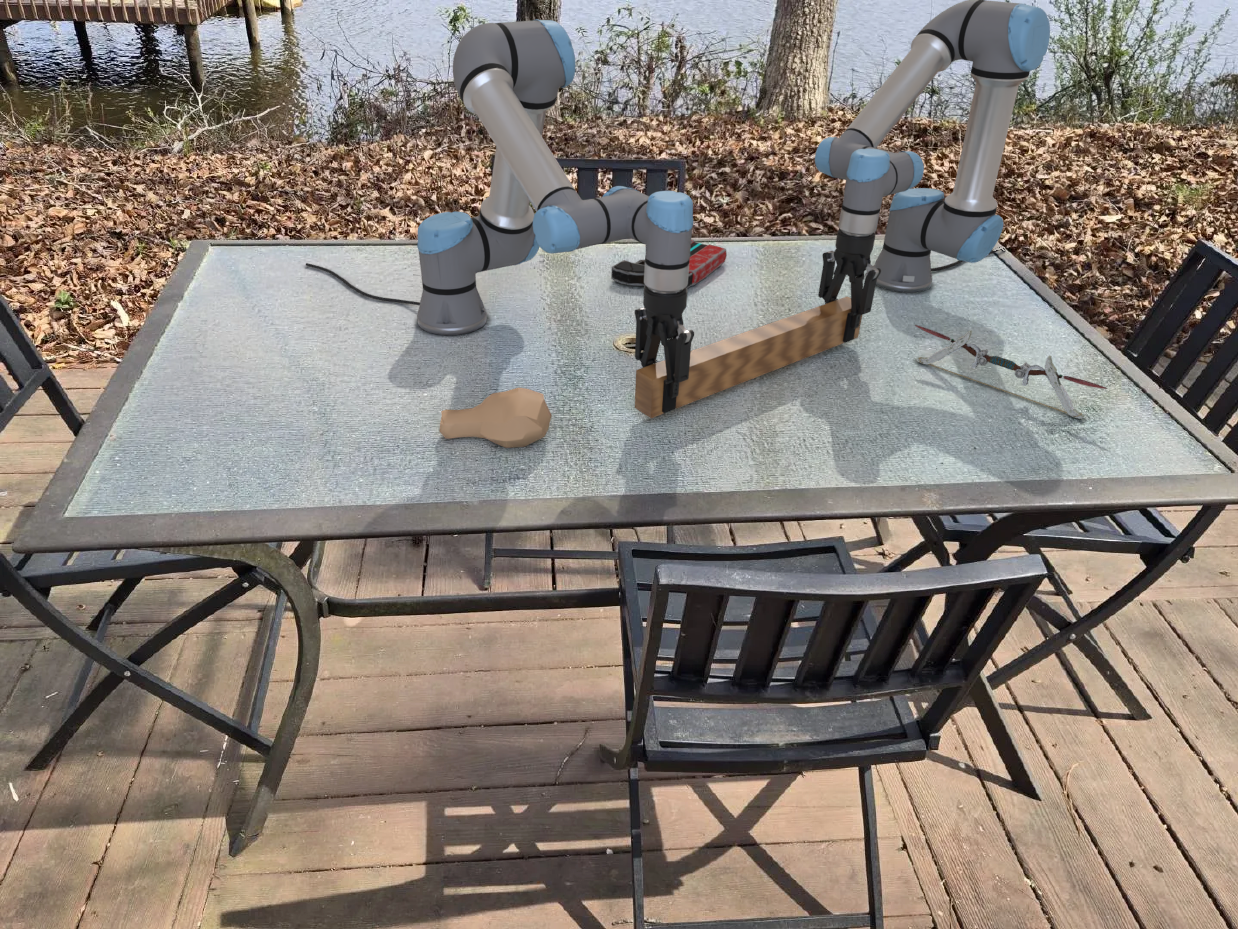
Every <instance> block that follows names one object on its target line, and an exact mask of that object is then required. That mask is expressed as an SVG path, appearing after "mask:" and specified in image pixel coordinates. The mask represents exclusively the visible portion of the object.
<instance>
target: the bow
mask: <svg viewBox="0 0 1238 929" xmlns="http://www.w3.org/2000/svg"><path fill="white" fill-rule="evenodd" d="M914 326H915V327H916V328H918V329H920V330H921V331H924V333H925V332H926V333H928V334H930V335H932V336H935V337H937V338H940V339H943V340H946V341H949V342H950V343H951V345H949V346H945V347H943V348H941V349H939V350H937V351H935V352H934V353H933V354H931V355H930V356H927V357H923V356H918V357H917V358H916V361H917V362H918V363H920V364H922V365H929V366H931V367H934V368H937V369H940V370H943V371H946V372H949V373H952V374H954V375H957V376H960V377H963V378H966V379H969V380H971V381H973V382H976V383H979V384H983V385H985V386H988V387H991V388H993V389H997V390H999V391H1003V392H1005V393H1009V394H1010V395H1014V396H1016V397H1019V398H1022V399H1025V400H1027V401H1030V402H1033V403H1037V404H1040V405H1042V406H1045V407H1048V408H1050V409H1054V410H1056V411H1059V412H1062V413H1063V414H1064V413H1065V414H1067V415H1069V416H1070V417H1072V418H1075V419H1079V420H1082V419H1083V418H1085V416H1086V415H1085V414H1083V413H1082V412H1080V411H1079V410H1078V409H1076V408H1075V407H1074V405H1073V402H1072V399H1071V396H1070V395H1069V393H1068V391H1067V390H1066V388H1065V386H1064V385H1062V382H1061V380H1060V379H1062V378H1063V379H1064V380H1066V381H1069V382H1072V383H1076V384H1078V385H1082V386H1087V387H1090V388H1096V389H1103V390H1107V389H1108V387H1106V386H1103V385H1101V384H1097V383H1095V382H1091V381H1089V380H1084V379H1081V378H1078V377H1073V376H1070V375H1069V376H1068V375H1062V374H1059V372H1058V369H1057V367H1056V366H1055V364H1054V362H1053V358H1052V355H1048V356H1047V357H1046V359H1045V363H1044V367H1043V366H1040V365H1039V364H1033V365H1030V363H1028V362H1027V361H1025V362H1024V363H1023V364H1021V365H1018V364H1017V363H1016V362H1014V360H1010V359H1007V358H1004V357H1001V356H998V355H989V349H987V348H986V349H981V348H980V347H979V346H978V345H976V343H975V344H974V343H968V342H969V341H970V340H971V337H972V333H973V330H969V331H967V332H966V333H965V334H964V335H962V336H960V337H958V338H957V339H954V338H951V337H949V336H947V335H945V334H943V333H941V332H938V331H935V330H933V329H929V328H928V327H924V326H922V325H917V324H914ZM963 349H964V350H965V351H967V352H968V353H969V354H970V355H972V356H973V357H974V358H975V359H974V361H973V362H972V365H971V368H972V369H976V368H978V365H980V366H983V367H985V365H987V364H988V363H990V364H992V365H995V366H998V367H1002V368H1005V369H1007V370H1010V371H1014V376H1015V377H1016V378H1018V379H1022V381H1021V382H1022V383H1021V386H1024V387H1027V386H1028V385H1029V381H1030V378H1029V377H1030V376H1045V378H1047V380H1048V382H1049V383H1050V386H1051V387H1052V388H1053V390H1054V392H1055V395H1056V397H1057V398H1058V400H1059V403H1060V405H1061V407H1062V408H1063V410H1062V409H1059V408H1056V407H1053V406H1050V405H1047V404H1044V403H1042V402H1040V401H1036V400H1033V399H1030V398H1027V397H1025V396H1022V395H1019V394H1016V393H1013V392H1011V391H1007V390H1005V389H1002V388H999V387H996V386H994V385H991V384H988V383H985V382H982V381H979V380H976V379H974V378H971V377H969V376H966V375H962V374H959V373H957V372H953V371H951V370H948V369H945V368H942V367H940V366H937V365H934V364H933V363H936V362H939V361H941V360H943V359H944V358H946V357H948V356H949V355H951V354H953V353H955V352H958V351H960V350H963Z"/></svg>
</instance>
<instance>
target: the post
mask: <svg viewBox="0 0 1238 929" xmlns="http://www.w3.org/2000/svg"><path fill="white" fill-rule="evenodd" d="M837 299H838V300H836V301H833V302H830V303H827V304H825V303H824V304H821V305H819V306H816V307H813V308H809V309H807V310H804V311H801V312H799V313H795V314H793V315H790V316H787V317H783V318H781V319H778V320H775V321H773V322H769V323H767V324H764V325H762V326H758V327H756V328H752V329H749V330H747V331H744V332H742V333H738V334H735V335H732V336H730V337H726V338H724V339H721V340H718V341H715V342H712V343H710V344H706V345H704V346H701V347H699V348H695V349H691V354H690V367H689V379H688V380H685V381H683V382H680V383H679V394H678V396H677V397H676V409H679V408H682V407H684V406H687V405H689V404H691V403H694V402H697V401H699V400H702V399H705V398H707V397H710V396H712V395H716V394H717V393H720V392H722V391H725V390H728V389H731V388H733V387H735V386H738V385H740V384H743V383H746V382H748V381H751V380H753V379H755V378H759V377H761V376H764V375H766V374H768V373H772V372H774V371H777V370H778V369H781V368H784V367H786V366H790V365H792V364H794V363H796V362H799V361H802V360H805V359H807V358H809V357H812V356H815V355H817V354H820V353H822V352H824V351H827V350H830V349H832V348H835V347H838V346H840V345H843V344H846V343H845V342H843V337H844V331H845V326H846V320H847V315H848V313H850V312H851V296H844V297H841V298H837ZM862 318H863V315H861V318H860V323H859V327H858V328H856V329H855V334H854V340H856V339H858V338H859V336H860V329H861V324H862ZM666 379H667V373H666V363H665V359H664V360H661V361H658V362H657V363H655V364H652V365H649V366H646V367H644V368H643V367H641V368H638V369H636V370H635V388H634V409H635V410H637V411H639V412H640V413H642V414H643V415H644V416H646V417H647V418H649V419H654V418H656V417H658V416H659V417H660V416H661V415H663V414H665V413H663V412H662V402H663V385H664V380H666Z"/></svg>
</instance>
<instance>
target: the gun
mask: <svg viewBox="0 0 1238 929" xmlns="http://www.w3.org/2000/svg"><path fill="white" fill-rule="evenodd" d="M727 256H728V254H727V248H725V247H722V246H718V245H713V244H704V243H700V242H697V241H695V239H693V238H691V249H690V260H689V274H688V285H687V286H686V288H687V289H688V288H690V287H691V286H695V285H696V284H698V283H699V282H701V281H702V280H704V279H705V278H707V277H708V276H709V275H710V274H712V273H714V271H716V270H717V269H718V268H720V267H721V266H722V265H723V264H724V263H726V259H727ZM644 271H645V259H639V260H636V262H631V261H629V260H626V259H623V260H621V261H620V262H617V263H616V264H613V265H612V266H611V276H610V279H611V280H612V281H614V282H616V283H619V284H623V285H627V286H637V287H640V286H641V287H642V286H643V287H645V284H644Z"/></svg>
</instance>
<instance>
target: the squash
mask: <svg viewBox="0 0 1238 929" xmlns="http://www.w3.org/2000/svg"><path fill="white" fill-rule="evenodd" d="M440 414H441V417H440V422H439V430H438V431H439V433H440V434H441V435H442V436H443V437H444V438H445V440H447V439H449V440H451V439H457V438H469V437H471V438H473V437H474V438H480V439H486V440H488V441H490V442H492V443H494V444H496V445H498V446H501V447H503V448H504V449H505V448H506V449H511V448H525V447H527V446H529V445H532V444H533V443H536V442H537V441H539V440H541V439H543V438H545V437H546V435H547V433H548V431H549V428H550V424H551V420H552V417H553V416H552V413H551V411H550V408H549V407H548V404H547V403H546V401H545V395H544V393H541V392H539V391H535V390H532V389H530V388H525V387H515V388H512V389H509V390H506V391H498V392H493V393H491V394H490V395H488V396H487V397H485V398H484V399H483V401H482V402H481V403H479V404H478V405H477V404H476V406H474V407H471V408H470V407H469V408H463V409H447V408H446V409H444V410H441V411H440Z"/></svg>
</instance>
